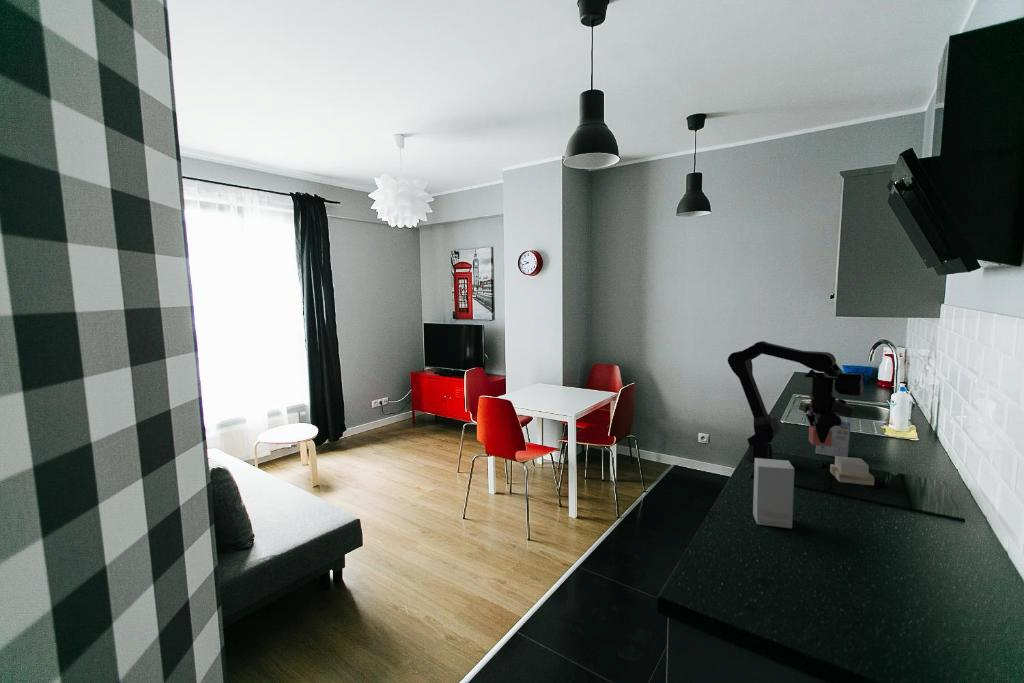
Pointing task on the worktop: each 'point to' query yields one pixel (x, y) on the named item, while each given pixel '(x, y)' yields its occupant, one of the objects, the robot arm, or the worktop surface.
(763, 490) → the skincare box
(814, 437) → the red cube
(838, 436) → the ink cartridge box
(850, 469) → the tower top
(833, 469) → the tower base
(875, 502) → the worktop surface
